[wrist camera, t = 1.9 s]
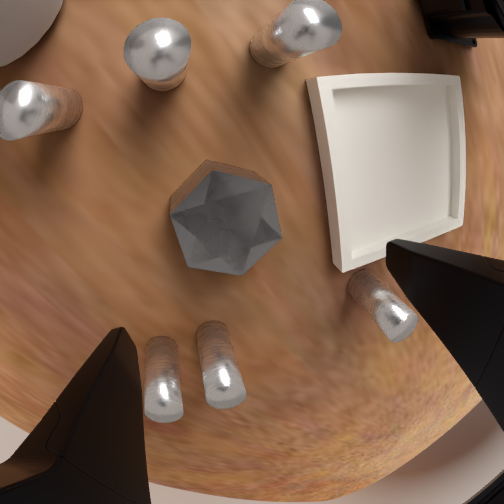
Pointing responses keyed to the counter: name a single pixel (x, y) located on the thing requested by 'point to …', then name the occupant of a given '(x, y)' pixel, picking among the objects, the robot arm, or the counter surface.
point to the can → (24, 25)
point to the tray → (389, 159)
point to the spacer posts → (166, 78)
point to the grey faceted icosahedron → (224, 218)
